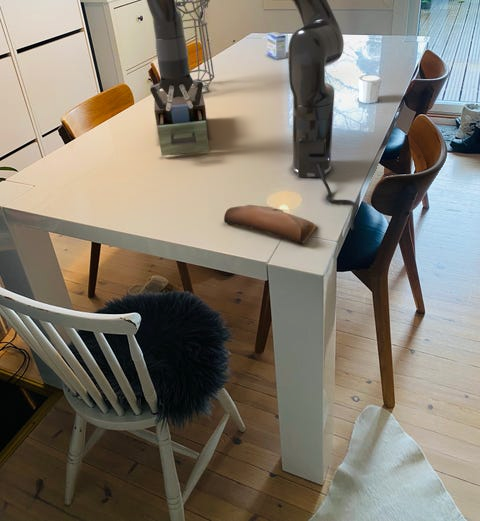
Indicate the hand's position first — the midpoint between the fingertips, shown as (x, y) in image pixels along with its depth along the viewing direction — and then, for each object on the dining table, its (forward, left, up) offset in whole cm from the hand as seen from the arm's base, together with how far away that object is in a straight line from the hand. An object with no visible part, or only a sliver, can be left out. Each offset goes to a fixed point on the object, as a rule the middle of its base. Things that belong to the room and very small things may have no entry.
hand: (181, 121), depth 134 cm
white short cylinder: (+36, -52, -8) cm, 63 cm away
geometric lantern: (+48, +7, -8) cm, 49 cm away
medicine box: (+88, -19, -8) cm, 90 cm away
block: (0, 0, 0) cm, 0 cm away
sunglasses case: (-38, -27, -8) cm, 47 cm away
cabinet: (+12, +3, -8) cm, 14 cm away
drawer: (0, 0, -7) cm, 7 cm away
